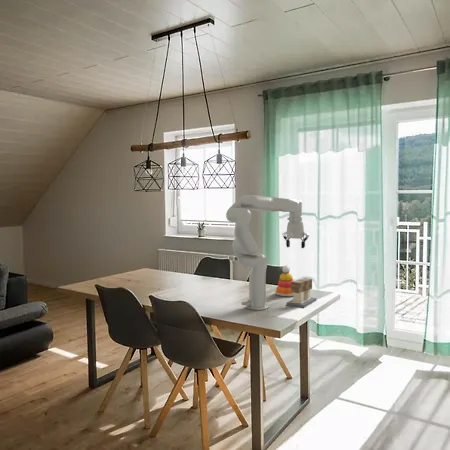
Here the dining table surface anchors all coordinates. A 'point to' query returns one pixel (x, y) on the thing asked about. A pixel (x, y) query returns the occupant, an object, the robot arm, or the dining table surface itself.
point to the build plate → (301, 299)
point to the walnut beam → (301, 285)
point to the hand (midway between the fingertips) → (295, 247)
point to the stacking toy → (285, 283)
